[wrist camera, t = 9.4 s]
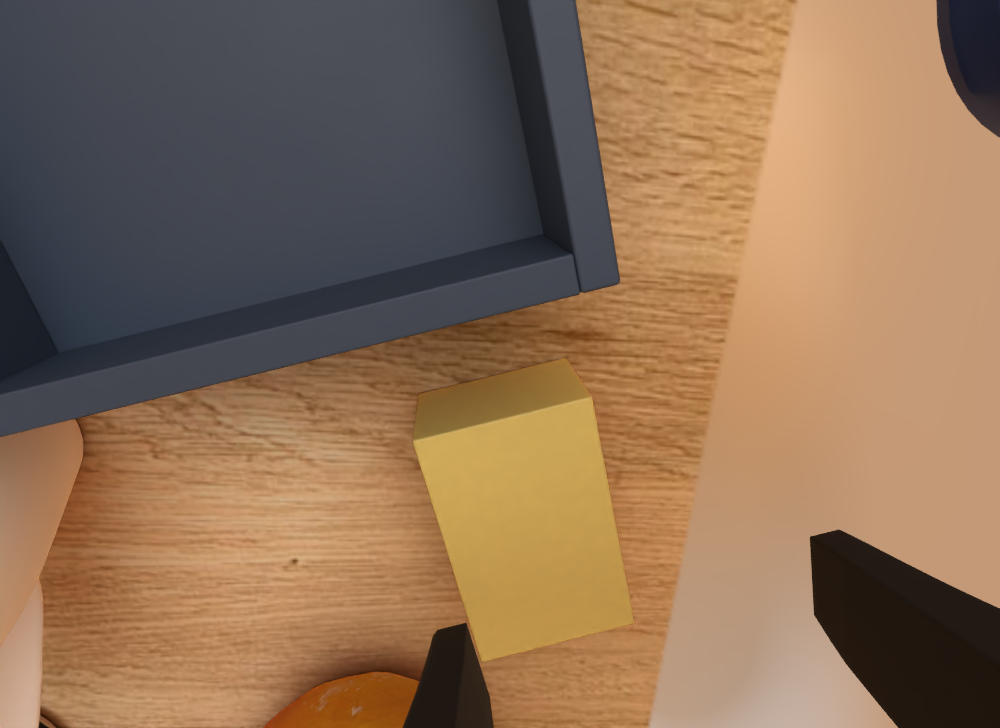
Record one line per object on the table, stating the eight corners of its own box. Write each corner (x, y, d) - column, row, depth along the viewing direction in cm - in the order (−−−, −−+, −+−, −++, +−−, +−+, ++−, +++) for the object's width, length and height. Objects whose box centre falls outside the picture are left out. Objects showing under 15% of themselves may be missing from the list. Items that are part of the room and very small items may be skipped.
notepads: (566, 356, 19) (592, 396, 16) (605, 554, 21) (635, 624, 18) (417, 393, 19) (411, 441, 15) (475, 586, 21) (481, 663, 18)
